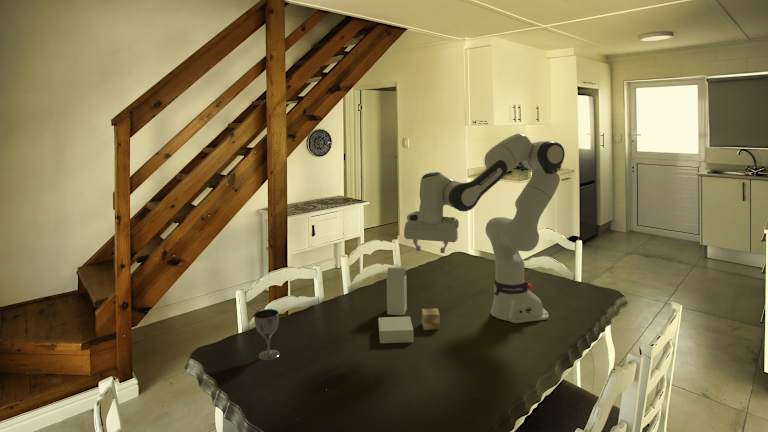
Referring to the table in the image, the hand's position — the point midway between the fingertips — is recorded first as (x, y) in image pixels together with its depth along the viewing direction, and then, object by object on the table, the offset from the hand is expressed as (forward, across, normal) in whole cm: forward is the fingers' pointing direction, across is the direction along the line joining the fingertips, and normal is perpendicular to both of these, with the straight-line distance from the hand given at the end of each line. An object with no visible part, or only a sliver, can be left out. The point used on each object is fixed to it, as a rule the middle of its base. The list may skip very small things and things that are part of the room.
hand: (430, 251), depth 177 cm
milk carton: (+29, +15, -8) cm, 34 cm away
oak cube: (+29, -1, +3) cm, 29 cm away
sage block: (+30, +10, +14) cm, 34 cm away
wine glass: (+30, +47, +40) cm, 69 cm away
